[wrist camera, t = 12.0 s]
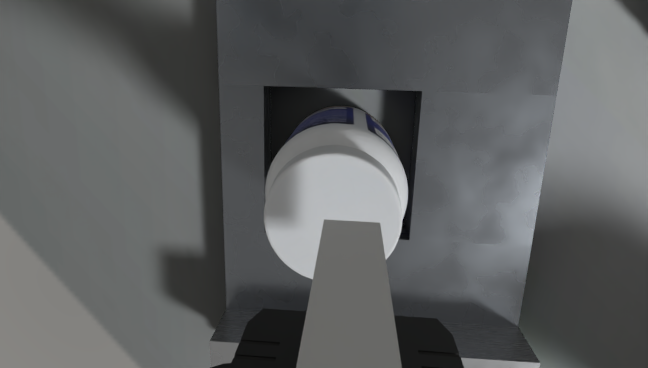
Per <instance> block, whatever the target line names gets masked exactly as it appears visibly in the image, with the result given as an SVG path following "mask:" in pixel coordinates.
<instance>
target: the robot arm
mask: <svg viewBox="0 0 648 368" xmlns="http://www.w3.org/2000/svg"><path fill="white" fill-rule="evenodd" d="M211 368H464V366H463V363H462V360H461V357H459V352H458V349H457V346H456V343H455V340H454V337H453V335H452V334H451V333H450V331H449V330H448V329H447V328H446V327H445V326H444V325H443V324H442V323H441V322H440V321H439V320H438V319H437V318H423V317H408V316H394V312H393V305H392V299H391V292H390V285H389V279H388V272H387V265H386V258H385V252H384V245H383V238H382V232H381V225H380V223H378V222H361V221H343V220H326V219H324V222H323V228H322V233H321V238H320V244H319V249H318V254H317V259H316V265H315V270H314V275H313V281H312V286H311V291H310V297H309V302H308V307H307V311H294V310H280V309H265V308H263V309H262V310H261V311H260V312H259V313H258V314H256V315H255V316H254V317H253V318H252V319H251V320H250V321H248V322H247V325H246V327H245V330H244V332H243V335H242V337H241V341H240V343H239V345H238V347H237V350H236V352H235V356H234V358H233V360H232V362H231V363H224V364H221V365H217V366H214V367H211Z"/></svg>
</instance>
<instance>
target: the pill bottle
mask: <svg viewBox="0 0 648 368" xmlns="http://www.w3.org/2000/svg"><path fill="white" fill-rule="evenodd" d="M265 199H266V202H265V207H264V225H265V231H266V235H267V237H268V240H269V242H270V244H271V246H272V248H273V249H274V251H275V253H276V254H277V255H278V257H279V258H280V259H281V260H282V261H283V262H284V263H285V264H286V265H287V266H288V267H290V268H291V269H292V270H294V271H295V272H297V273H299V274H301V275H303V276H305V277H308V278H310V279H313V275H314V270H315V265H316V259H317V254H318V249H319V244H320V238H321V233H322V228H323V222H324V219H326V220H343V221H361V222H378V223H380V225H381V232H382V238H383V245H384V252H385V258H386V259H387V258H388V257H389V256H390V255H391V253H392V252H393V250H394V248H395V246H396V244H397V242H398V239H399V237H400V233H401V229H402V220H403V217H404V214H405V211H406V207H407V201H408V184H407V178H406V174H405V171H404V168H403V166H402V163H401V161H400V159H399V157H398V154H397V152H396V150H395V148H394V146H393V143H392V141H391V139H390V137H389V135H388V133H387V132H386V130H385V129H384V128H383V126H382V125H381V124H380V123H379V122H378V121H377V120H376V119H375V118H374V117H372V116H371V115H370V114H368V113H366V112H364V111H362V110H360V109H357V108H354V107H349V106H331V107H326V108H323V109H320V110H318V111H316V112H314V113H312V114H311V115H309V116H308V117H306V118H305V119H304V120H303V121H302V122H301V123H300V124H299V125H298V126H297V128H296V129H295V130H294V132H293V133H292V134H291V136H290V137H289V138H288V140H287V141H286V142H285V144H284V145H283V146H282V147H281V149H280V150H279V151H278V153H277V155H276V156H275V158H274V160H273V161H272V164H271V166H270V169H269V171H268V175H267V179H266V186H265Z"/></svg>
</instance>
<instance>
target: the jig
mask: <svg viewBox="0 0 648 368" xmlns="http://www.w3.org/2000/svg"><path fill="white" fill-rule="evenodd" d="M571 5H572V0H216V14H217V43H218V73H219V103H220V132H221V162H222V192H223V221H224V251H225V280H226V311H225V313H224V314H223V316H222V318H221V320H220V322H219V324H218V326H217V328H216V330H215V332H214V334H213V336H212V338H211V340H210V358H211V367H214V366H217V365H221V364H224V363H231V362H232V360H233V358H234V356H235V352H236V350H237V347H238V345H239V343H240V341H241V337H242V335H243V332H244V330H245V327H246V325H247V322H248V321H250V320H251V319H252V318H253V317H254V316H255V315H256V314H258V313H259V312H260V311H261V310H262V309H263V308H265V309H280V310H294V311H307V307H308V302H309V297H310V291H311V286H312V281H313V279H310V278H308V277H305V276H303V275H301V274H299V273H297V272H295V271H294V270H292V269H291V268H290V267H288V266H287V265H286V264H285V263H284V262H283V261H282V260H281V259H280V258H279V257H278V255H277V254H276V253H275V251H274V249H273V248H272V246H271V244H270V242H269V240H268V237H267V235H266V231H265V225H264V207H265V202H266V199H265V186H266V179H267V175H268V171H269V169H270V166H271V86H285V87H315V88H345V89H375V90H405V91H416V102H415V114H414V126H413V139H412V151H411V163H410V175H409V187H408V201H407V211H406V223H405V226H402V229H401V233H400V237H399V239H398V242H397V244H396V246H395V248H394V250H393V252H392V253H391V255H390V256H389V257H388V258H387V259H386V265H387V272H388V279H389V285H390V292H391V299H392V305H393V312H394V316H408V317H423V318H437V319H438V320H439V321H440V322H441V323H442V324H443V325H444V326H445V327H446V328H447V329H448V330H449V331H450V333H451V334H452V335H453V337H454V340H455V343H456V346H457V349H458V352H459V357H461V360H462V363H463V366H464V368H540V362H539V360H538V358H537V357H536V355H535V353H534V352H533V350H532V349H531V347H530V345H529V344H528V342H527V340H526V339H525V337H524V336H523V334H522V332H521V331H520V329H519V327H518V325H519V319H520V313H521V307H522V301H523V295H524V289H525V283H526V276H527V270H528V264H529V258H530V252H531V246H532V240H533V234H534V228H535V222H536V216H537V210H538V204H539V198H540V192H541V186H542V180H543V174H544V168H545V162H546V156H547V150H548V144H549V138H550V132H551V126H552V120H553V114H554V108H555V102H556V96H557V90H558V84H559V77H560V71H561V65H562V59H563V53H564V47H565V41H566V35H567V29H568V23H569V17H570V11H571Z"/></svg>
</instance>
